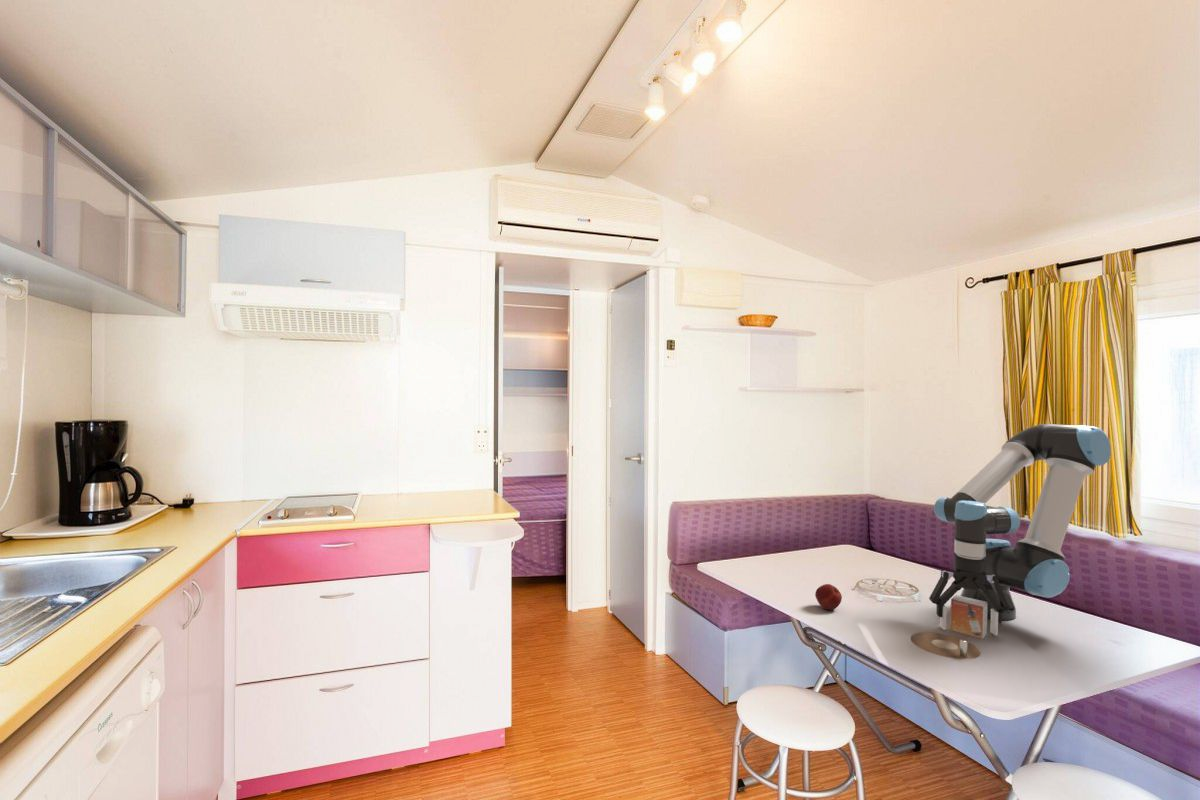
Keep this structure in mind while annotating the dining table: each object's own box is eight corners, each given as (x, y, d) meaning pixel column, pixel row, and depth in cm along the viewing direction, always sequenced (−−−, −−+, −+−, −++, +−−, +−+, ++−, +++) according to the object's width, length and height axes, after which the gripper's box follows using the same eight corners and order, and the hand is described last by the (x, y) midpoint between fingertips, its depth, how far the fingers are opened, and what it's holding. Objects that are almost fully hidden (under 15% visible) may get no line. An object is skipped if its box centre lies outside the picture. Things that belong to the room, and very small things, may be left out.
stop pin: (965, 655, 142) (965, 639, 142) (968, 658, 140) (968, 642, 140) (958, 654, 142) (958, 639, 142) (961, 657, 140) (961, 641, 140)
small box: (949, 635, 158) (950, 598, 158) (954, 629, 162) (955, 593, 162) (982, 644, 152) (983, 606, 152) (987, 638, 156) (987, 601, 156)
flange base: (966, 641, 153) (966, 635, 153) (992, 668, 138) (992, 662, 138) (903, 634, 157) (903, 629, 157) (921, 660, 142) (921, 653, 142)
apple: (833, 615, 171) (833, 589, 171) (810, 607, 177) (810, 583, 177) (845, 610, 175) (845, 585, 175) (822, 602, 181) (822, 578, 182)
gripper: (1012, 556, 158) (1010, 630, 157) (918, 548, 163) (916, 620, 163) (1025, 563, 150) (1024, 641, 150) (926, 555, 156) (925, 630, 156)
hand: (968, 631), depth 157 cm, fingers open, 12 cm apart
